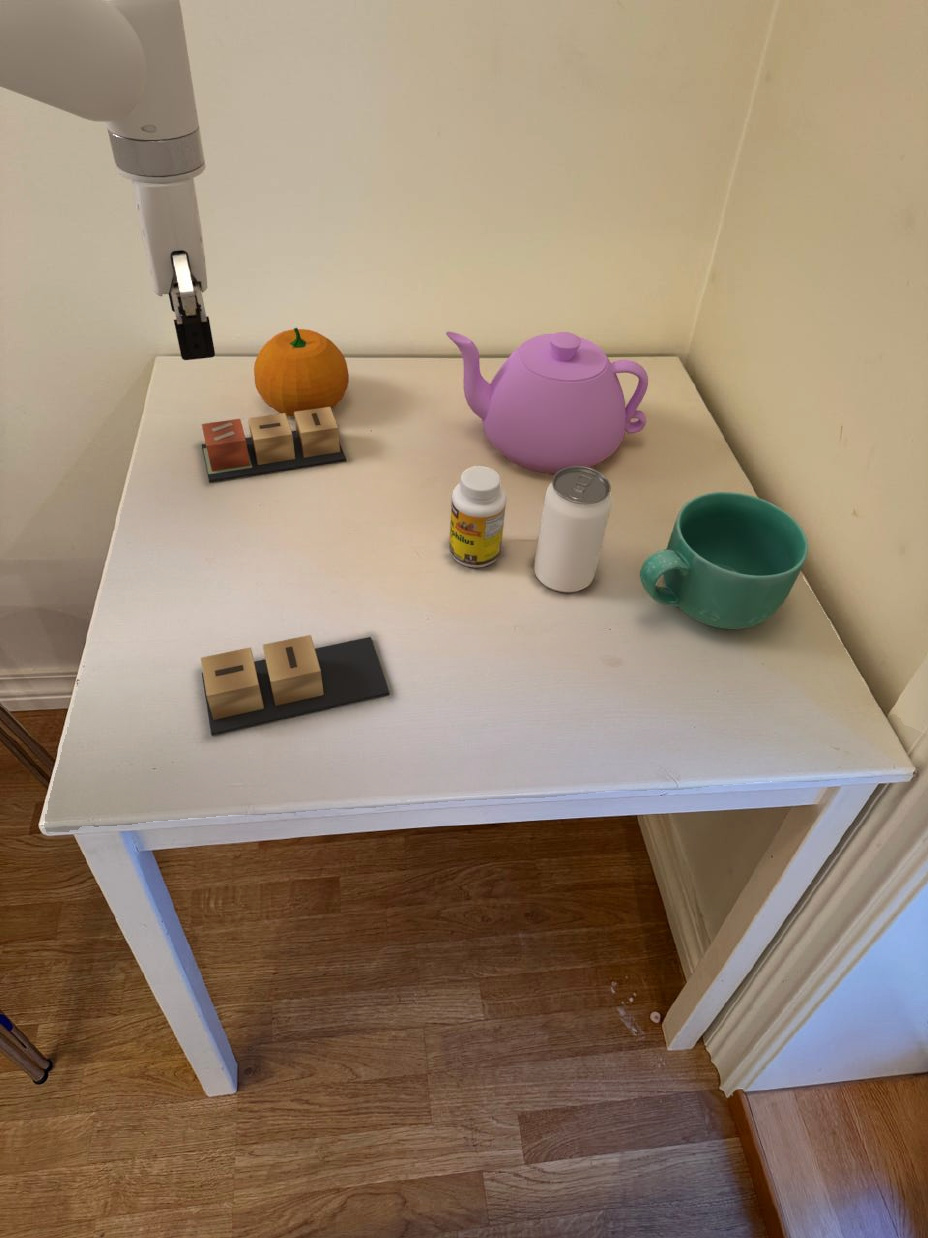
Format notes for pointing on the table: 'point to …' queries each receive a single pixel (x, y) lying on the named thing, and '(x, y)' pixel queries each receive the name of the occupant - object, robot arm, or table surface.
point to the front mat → (344, 680)
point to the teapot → (553, 401)
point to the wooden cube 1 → (231, 683)
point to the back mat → (270, 467)
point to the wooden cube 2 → (293, 670)
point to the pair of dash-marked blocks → (277, 440)
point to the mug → (728, 560)
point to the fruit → (300, 372)
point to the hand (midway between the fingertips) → (193, 332)
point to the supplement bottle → (477, 517)
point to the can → (572, 528)
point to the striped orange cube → (226, 444)
